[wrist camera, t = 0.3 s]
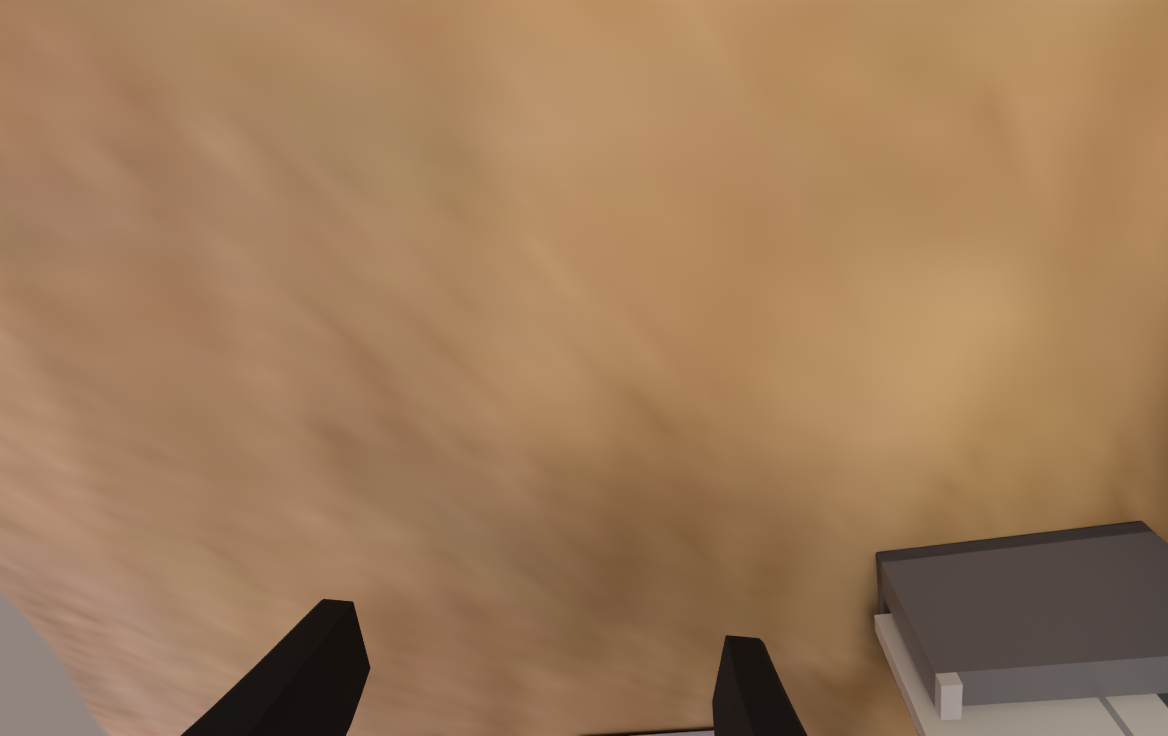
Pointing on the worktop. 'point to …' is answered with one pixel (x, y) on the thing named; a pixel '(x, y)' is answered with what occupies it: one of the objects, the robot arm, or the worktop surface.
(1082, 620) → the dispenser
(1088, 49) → the worktop surface
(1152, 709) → the beige flat plate
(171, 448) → the worktop surface
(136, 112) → the worktop surface
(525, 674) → the worktop surface
